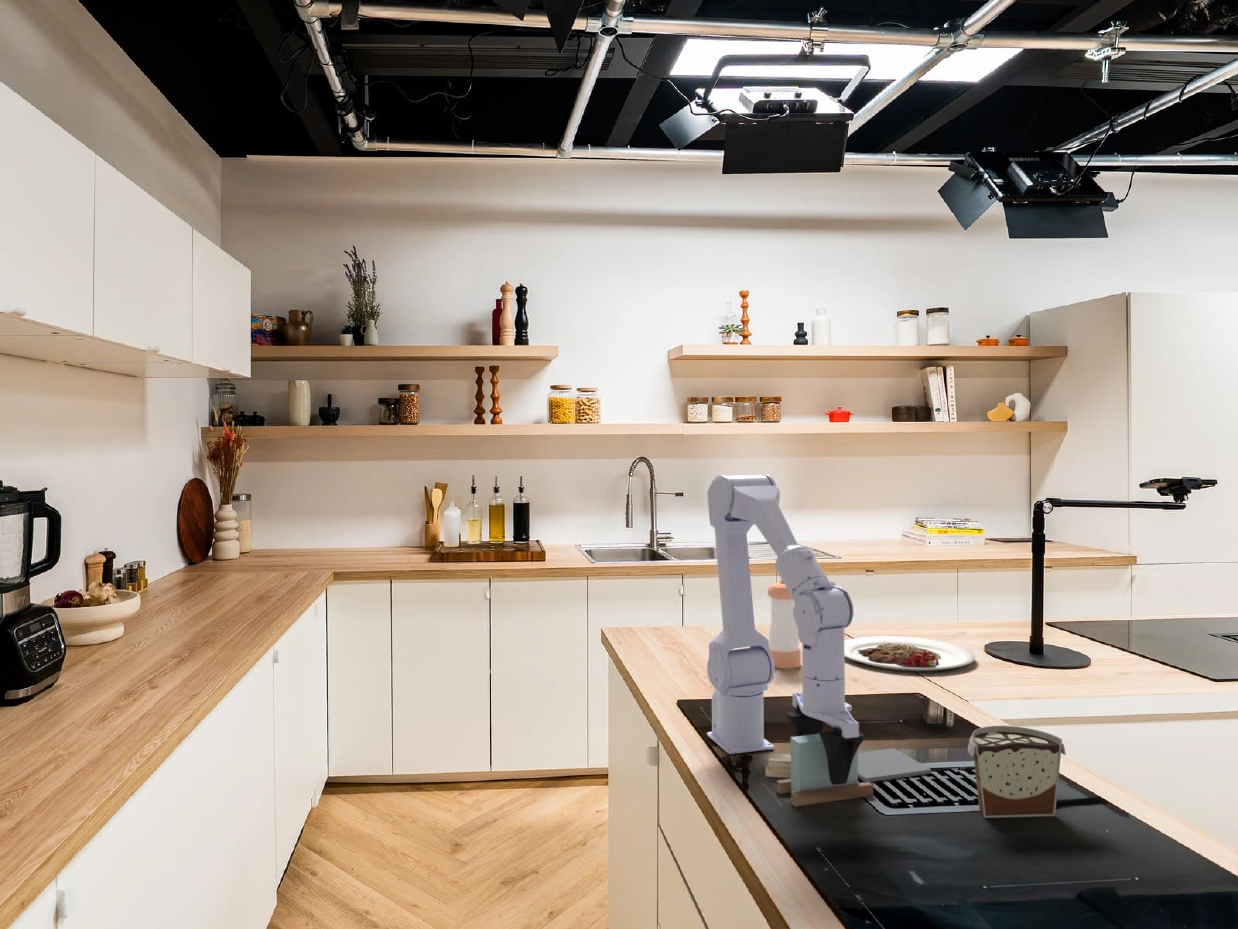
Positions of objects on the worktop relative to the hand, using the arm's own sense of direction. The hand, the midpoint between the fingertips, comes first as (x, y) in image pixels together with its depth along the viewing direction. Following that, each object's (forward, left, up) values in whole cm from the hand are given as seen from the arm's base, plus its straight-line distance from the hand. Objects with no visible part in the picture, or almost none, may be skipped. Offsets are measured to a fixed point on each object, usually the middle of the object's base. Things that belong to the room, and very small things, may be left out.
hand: (824, 772), depth 113 cm
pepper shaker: (-64, +27, -3) cm, 70 cm away
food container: (+11, +21, -3) cm, 24 cm away
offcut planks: (-7, 0, -3) cm, 8 cm away
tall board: (0, 0, -3) cm, 3 cm away
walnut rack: (0, 0, -3) cm, 3 cm away
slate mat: (-6, +13, -3) cm, 15 cm away
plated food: (-61, +56, -3) cm, 83 cm away
